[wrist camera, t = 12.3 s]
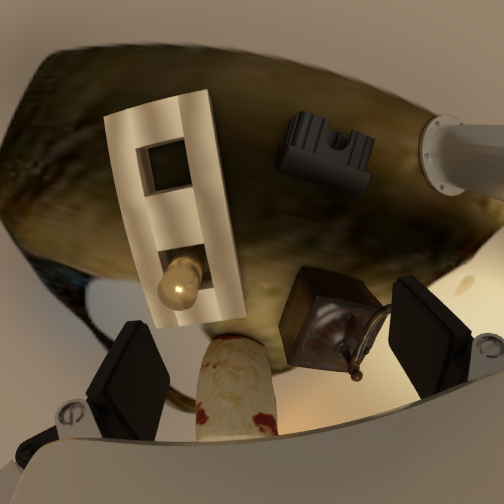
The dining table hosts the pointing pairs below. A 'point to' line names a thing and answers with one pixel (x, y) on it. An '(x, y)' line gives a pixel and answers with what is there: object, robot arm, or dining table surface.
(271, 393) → the food model
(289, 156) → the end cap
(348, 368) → the manual coffee grinder
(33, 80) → the dining table surface
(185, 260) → the pin
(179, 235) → the board
